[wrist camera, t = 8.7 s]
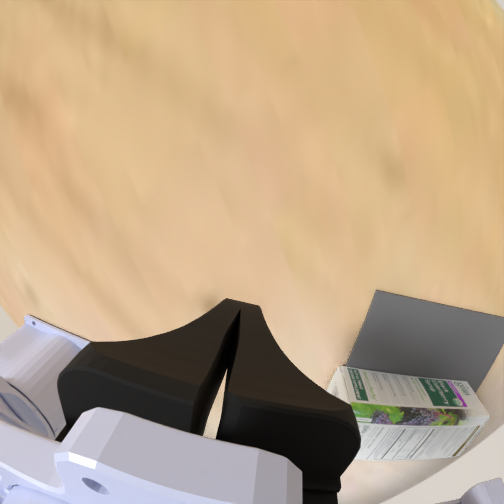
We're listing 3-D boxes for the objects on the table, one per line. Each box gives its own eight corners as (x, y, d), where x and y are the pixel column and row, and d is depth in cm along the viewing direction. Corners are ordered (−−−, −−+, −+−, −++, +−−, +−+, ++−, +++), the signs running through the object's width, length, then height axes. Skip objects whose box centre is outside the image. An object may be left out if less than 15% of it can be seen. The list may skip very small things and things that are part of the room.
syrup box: (338, 362, 23) (469, 377, 23) (314, 412, 25) (441, 420, 25) (349, 411, 18) (495, 413, 17) (318, 461, 19) (459, 458, 19)
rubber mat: (317, 422, 26) (317, 424, 25) (376, 289, 21) (377, 291, 21) (448, 427, 25) (449, 429, 25) (513, 319, 21) (514, 320, 21)
